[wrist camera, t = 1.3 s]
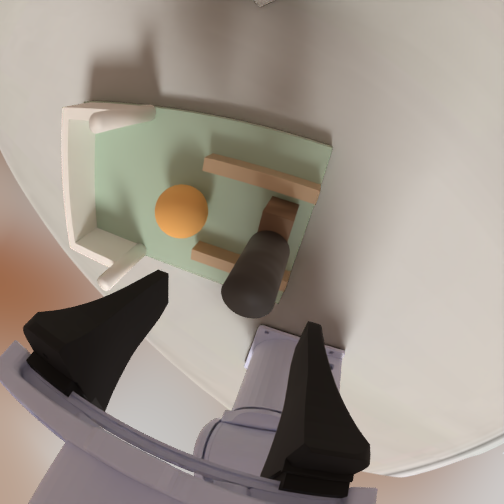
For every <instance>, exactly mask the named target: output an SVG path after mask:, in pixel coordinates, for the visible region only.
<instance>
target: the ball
mask: <svg viewBox="0 0 504 504" xmlns="http://www.w3.org/2000/svg"><path fill="white" fill-rule="evenodd" d="M207 217H208V204H207V201H206V199H205V197H204V196H203V194H202V193H201V192H200V191H199V190H198V189H196V188H194V187H192V186H190V185H184V184H179V185H174V186H172V187H169V188H168V189H166V190H165V191H164V192H163V193H162V194H161V195H160V196H159V198H158V200H157V202H156V205H155V219H156V222H157V224H158V226H159V227H160V229H161V230H162V231H163V232H164V233H166V234H167V235H169V236H171V237H174V238H188V237H191V236H193V235H195V234H197V233H198V232H199V231H200V230H201V229H202V228H203V226H204V225H205V223H206V221H207Z"/></svg>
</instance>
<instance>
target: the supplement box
mask: <svg viewBox="0 0 504 504" xmlns="http://www.w3.org/2000/svg"><path fill="white" fill-rule="evenodd" d="M254 1H255V3H256V4H257V5H258V6H259V7H262V6H264V5H266V4H268V3H270V2H273V1H275V0H254Z"/></svg>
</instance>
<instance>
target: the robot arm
mask: <svg viewBox="0 0 504 504" xmlns="http://www.w3.org/2000/svg"><path fill="white" fill-rule="evenodd" d="M167 304H168V273H166V272H163V271H160V270H157V271H155V272H153V273H151V274H149V275H147V276H145V277H144V278H142V279H140V280H138V281H136V282H134V283H132V284H130V285H129V286H127V287H125V288H123V289H121V290H118V291H116V292H114V293H112V294H110V295H108V296H105V297H103V298H100V299H98V300H95V301H92V302H89V303H86V304H82V305H78V306H75V307H71V308H66V309H61V310H54V311H45V312H38V313H36V314H35V315H34V316H33V317H32V319H30V320H29V321H28V323H26V324H25V325H24V327H23V331H24V334H25V336H26V338H27V340H28V342H29V343H30V345H31V347H32V349H33V350H34V352H33V353H32V354H30V353H29V352H28V351H27V350H26V349H25V348H24V347H23V346H22V345H21V344H20V343H19V342H18V341H16V340H15V341H14V342H13V343H12V344H11V345H10V346H9V347H8V349H7V350H6V351H5V352H4V353H3V354H2V355H1V356H0V382H1V383H2V384H3V386H4V387H5V388H6V389H7V390H8V391H9V392H10V393H11V395H12V396H13V397H15V399H16V400H18V402H19V403H20V404H22V405H23V406H24V407H25V408H26V409H27V410H28V411H29V412H30V413H31V414H32V415H33V416H34V417H35V418H37V419H38V420H39V421H40V422H41V423H42V424H43V425H45V426H46V427H47V428H48V429H49V430H51V431H52V432H53V433H54V434H55V435H57V436H58V437H59V438H60V439H62V440H63V441H64V442H66V443H65V444H64V446H63V447H62V449H61V450H60V452H59V453H58V455H57V457H56V458H55V460H54V462H53V463H52V465H51V466H50V468H49V469H48V471H47V473H46V474H45V476H44V478H43V479H42V481H41V483H40V484H39V486H38V488H37V489H36V491H35V493H34V495H33V496H32V498H31V500H30V501H29V503H28V504H376V497H377V488H365V487H351V488H349V484H350V482H352V481H353V476H354V474H356V473H358V472H360V471H362V470H364V469H365V468H367V467H368V466H369V464H370V444H369V443H368V441H367V440H366V439H365V437H364V436H363V435H362V433H361V432H360V431H359V429H358V428H357V426H356V424H355V423H354V421H353V419H352V417H351V416H350V414H349V412H348V410H347V408H346V406H345V404H344V402H343V400H342V398H341V396H340V393H339V389H340V377H341V363H342V358H343V357H344V355H345V351H344V350H341V349H337V348H334V347H331V346H327V345H325V344H324V339H323V334H322V327H321V325H319V324H316V323H313V322H309V321H308V323H307V325H306V327H305V329H304V331H303V333H302V335H301V337H298V336H295V335H291V334H288V333H285V332H282V331H279V330H276V329H273V328H270V327H267V326H264V325H260V326H259V327H258V329H257V332H256V335H255V338H254V340H253V343H252V346H251V349H250V351H249V354H248V357H247V360H246V362H245V365H244V367H245V368H246V369H247V371H246V373H245V376H244V379H243V382H242V384H241V387H240V390H239V392H238V395H237V398H236V400H235V403H234V406H233V408H232V411H229V410H225V412H224V414H223V417H222V419H219V418H215V419H213V420H211V421H210V422H209V423H208V424H206V425H205V426H204V427H203V429H202V430H201V432H200V434H199V436H198V438H197V440H196V443H195V447H194V453H193V455H191V454H188V453H186V452H183V451H181V450H178V449H176V448H174V447H171V446H169V445H167V444H165V443H162V442H160V441H158V440H156V439H154V438H152V437H150V436H148V435H146V434H144V433H142V432H140V431H138V430H136V429H134V428H132V427H130V426H128V425H127V424H125V423H123V422H121V421H119V420H118V419H116V418H114V417H112V416H111V415H109V414H107V413H106V412H105V410H106V407H107V405H108V403H109V400H110V398H111V395H112V393H113V391H114V389H115V387H116V384H117V383H118V380H119V378H120V377H121V375H122V373H123V371H124V369H125V367H126V365H127V363H128V362H129V360H130V358H131V356H132V355H133V353H134V352H135V350H136V349H137V347H138V346H139V345H140V343H141V342H142V341H143V339H144V338H145V337H146V335H147V334H148V333H149V331H150V330H151V329H152V327H153V326H154V325H155V323H156V322H157V321H158V319H159V318H160V316H161V315H162V313H163V311H164V309H165V308H166V306H167ZM267 331H269V332H267ZM331 351H332V352H331ZM100 426H101V427H100ZM103 428H104V429H105V430H107V431H109V432H111V433H112V434H114V435H116V436H117V437H116V436H114V435H112V434H111V433H109V432H107V431H105V430H104V429H103ZM118 437H119V438H121V439H123V440H125V441H126V442H124V441H122V440H121V439H119V438H118ZM127 442H128V443H130V444H132V445H134V446H136V447H138V448H140V449H141V450H140V449H138V448H136V447H134V446H132V445H130V444H128V443H127ZM142 450H143V451H142ZM144 451H145V452H144ZM146 452H148V453H150V454H152V455H154V456H156V457H158V458H160V459H162V460H165V461H167V462H169V463H172V464H174V465H176V466H179V467H181V468H184V469H186V470H189V471H191V472H194V476H192V475H190V474H188V473H185V472H183V471H181V470H179V469H177V468H175V467H173V466H171V465H170V464H168V463H166V462H164V461H162V460H160V459H158V458H156V457H154V456H152V455H150V454H147V453H146Z"/></svg>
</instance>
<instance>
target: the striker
mask: <svg viewBox="0 0 504 504" xmlns="http://www.w3.org/2000/svg"><path fill="white" fill-rule="evenodd" d="M298 208H299V204H296V203H293V202H290V201H287V200H284V199H281V198H278V197H274V196H272V197H271V199H270V201H269V202H268V204H267V205H266V207H265V208H264V210H263V212H262V216H261V220H260V224H259V228H258V231H257V233H255V234H254V235H253V236H252V237H251V238H250V240H249V241H248V243H247V245H246V246H245V248H244V250H243V251H242V253H241V255H240V257H239V258H238V260H237V262H236V263H235V265H234V267H233V268H232V270H231V272H230V273H229V275H228V277H227V279H226V280H225V282H224V284H223V286H222V289H221V294H222V298H223V300H224V302H225V304H226V305H227V306H228V307H229V308H230V309H231V310H232V311H233V312H235V313H236V314H238V315H240V316H243V317H247V318H260V317H263V316H265V315H267V314H269V313H270V312H271V310H272V309H273V307H274V304H275V301H276V297H277V294H278V291H279V288H280V285H281V281H282V278H283V275H284V272H285V268H286V265H287V262H288V258H289V255H290V248H289V245H288V243H287V242H288V239H289V236H290V233H291V230H292V227H293V224H294V220H295V217H296V214H297V211H298Z"/></svg>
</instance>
